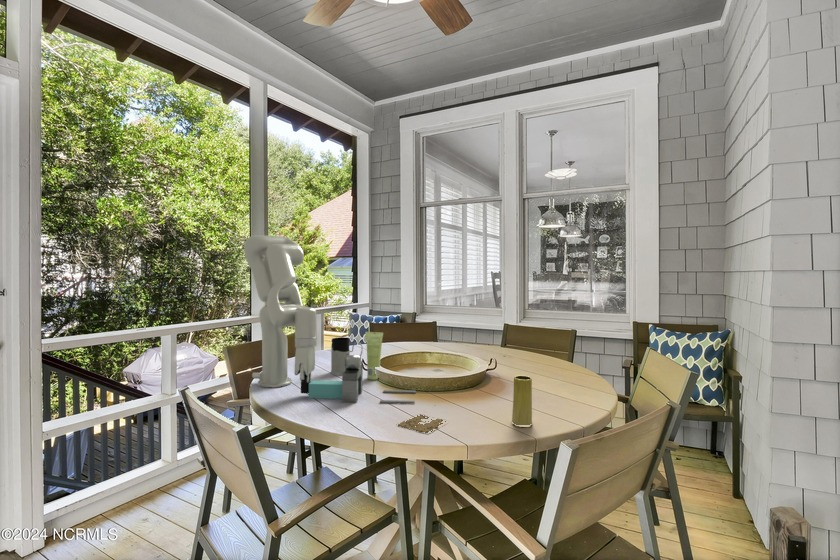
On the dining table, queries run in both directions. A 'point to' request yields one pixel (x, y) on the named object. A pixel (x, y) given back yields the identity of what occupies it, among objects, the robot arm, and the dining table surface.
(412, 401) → the pair of grey rods
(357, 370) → the housing
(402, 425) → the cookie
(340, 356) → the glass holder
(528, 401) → the vase
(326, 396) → the teal rectangular block
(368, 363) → the tube
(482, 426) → the dining table surface
